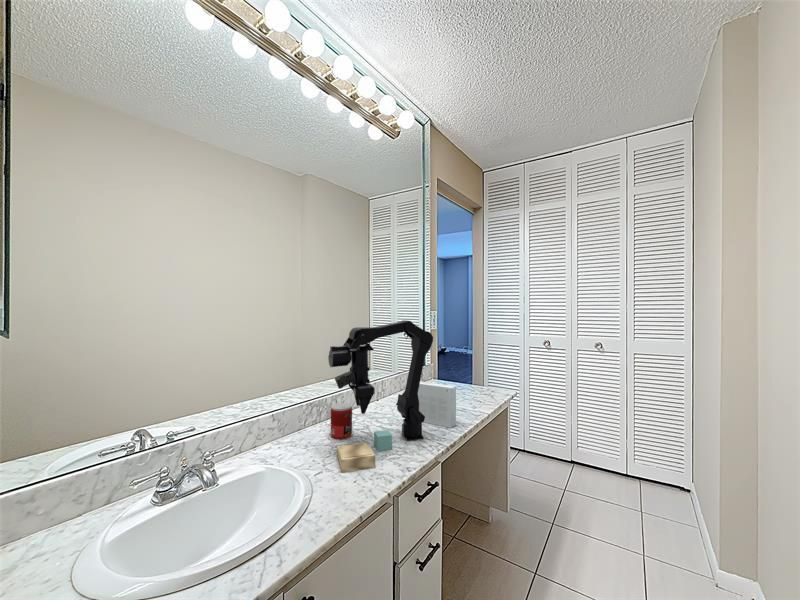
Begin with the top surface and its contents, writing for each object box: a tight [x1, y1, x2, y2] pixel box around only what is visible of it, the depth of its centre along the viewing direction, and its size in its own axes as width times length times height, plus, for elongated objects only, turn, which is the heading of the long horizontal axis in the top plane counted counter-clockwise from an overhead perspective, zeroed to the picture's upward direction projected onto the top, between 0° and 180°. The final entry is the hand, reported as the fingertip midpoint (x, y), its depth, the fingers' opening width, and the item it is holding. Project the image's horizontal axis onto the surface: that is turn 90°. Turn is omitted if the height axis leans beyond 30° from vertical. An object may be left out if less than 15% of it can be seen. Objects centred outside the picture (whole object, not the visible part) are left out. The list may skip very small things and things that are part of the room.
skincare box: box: [418, 381, 457, 429], centre depth 141 cm, size 21×5×16 cm, turn 58°
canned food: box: [330, 402, 353, 440], centre depth 125 cm, size 8×8×11 cm
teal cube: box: [373, 429, 393, 452], centre depth 114 cm, size 5×5×5 cm
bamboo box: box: [336, 442, 376, 473], centre depth 103 cm, size 10×10×4 cm
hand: (360, 409), depth 115 cm, fingers open, 9 cm apart
